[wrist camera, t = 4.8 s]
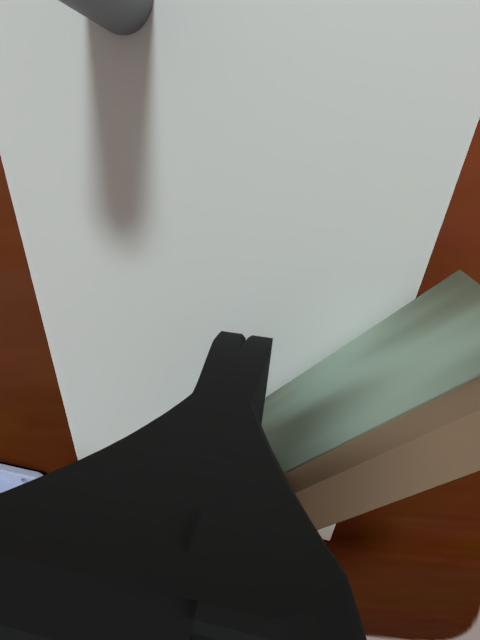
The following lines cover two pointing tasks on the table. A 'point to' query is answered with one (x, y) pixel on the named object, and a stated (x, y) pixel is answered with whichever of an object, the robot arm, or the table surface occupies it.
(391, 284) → the gate board
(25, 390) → the table surface
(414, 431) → the gate
